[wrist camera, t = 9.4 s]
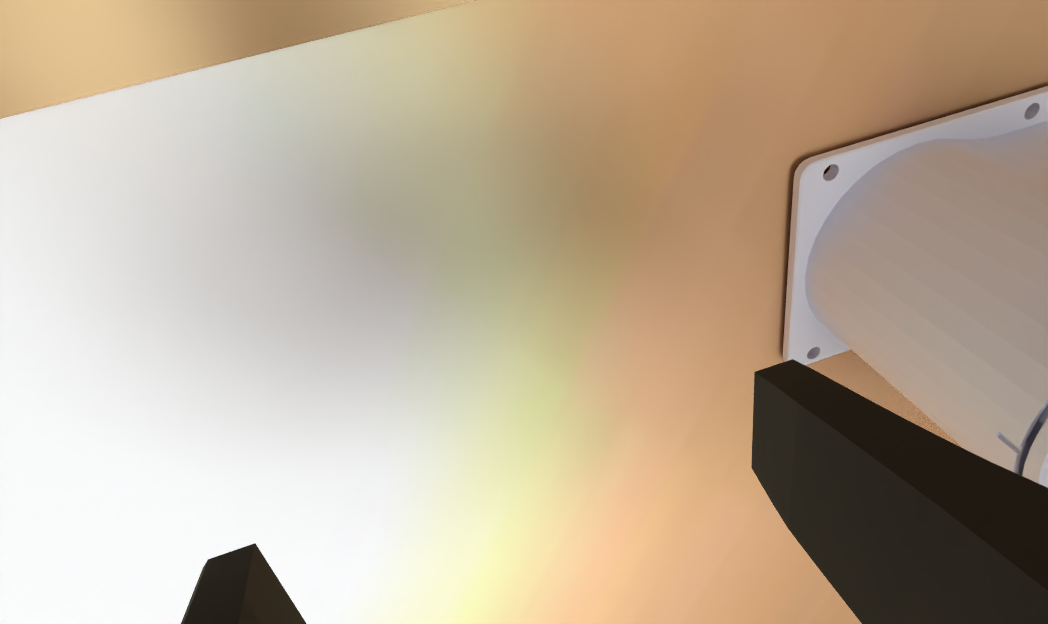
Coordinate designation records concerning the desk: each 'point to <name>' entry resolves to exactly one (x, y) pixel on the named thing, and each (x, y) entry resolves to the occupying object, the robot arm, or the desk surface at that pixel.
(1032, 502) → the robot arm
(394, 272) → the desk surface
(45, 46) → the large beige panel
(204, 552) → the desk surface
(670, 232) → the desk surface
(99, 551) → the desk surface
